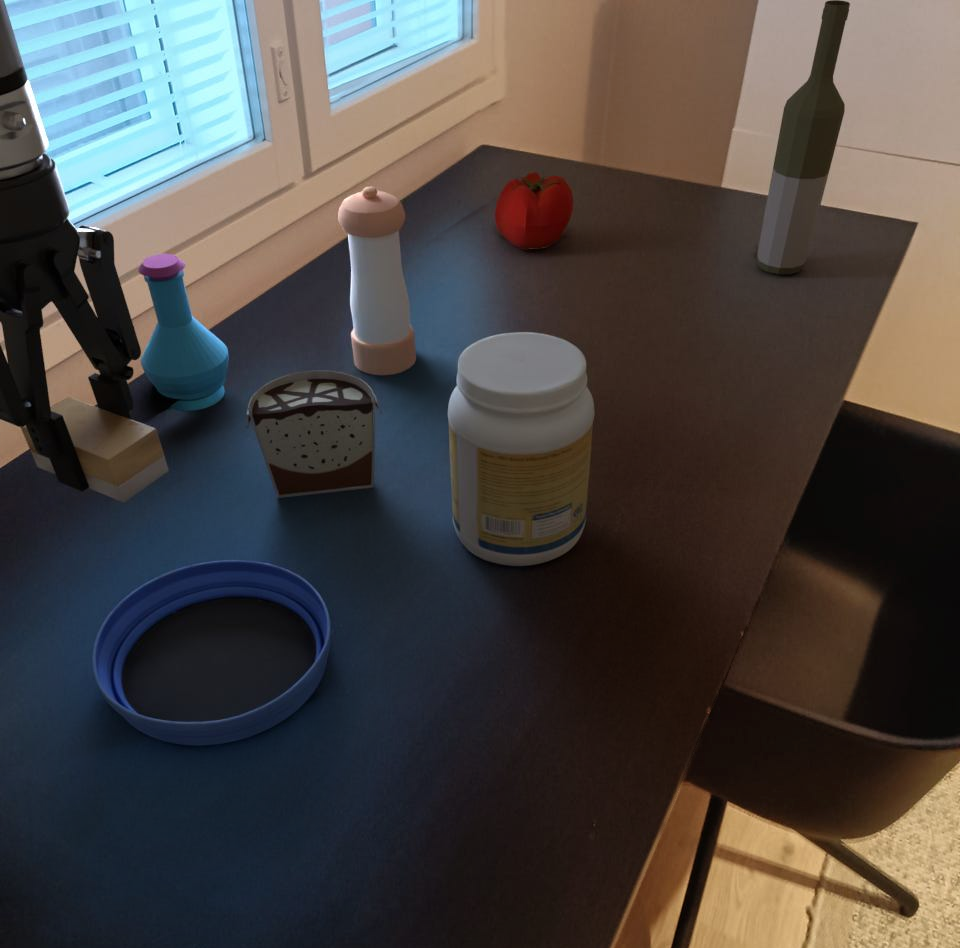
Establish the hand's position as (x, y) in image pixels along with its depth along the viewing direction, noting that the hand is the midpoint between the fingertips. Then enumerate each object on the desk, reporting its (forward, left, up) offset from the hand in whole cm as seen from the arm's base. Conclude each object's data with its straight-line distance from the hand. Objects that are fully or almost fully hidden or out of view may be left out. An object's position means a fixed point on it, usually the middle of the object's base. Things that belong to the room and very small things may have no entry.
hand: (100, 466), depth 76 cm
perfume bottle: (-15, +24, -10) cm, 31 cm away
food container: (+7, +19, -10) cm, 23 cm away
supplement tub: (+28, +21, -10) cm, 36 cm away
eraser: (0, 0, 0) cm, 0 cm away
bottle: (+31, +88, -10) cm, 94 cm away
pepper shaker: (-1, +41, -10) cm, 43 cm away
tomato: (-2, +79, -10) cm, 80 cm away
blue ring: (+16, -6, -10) cm, 20 cm away
